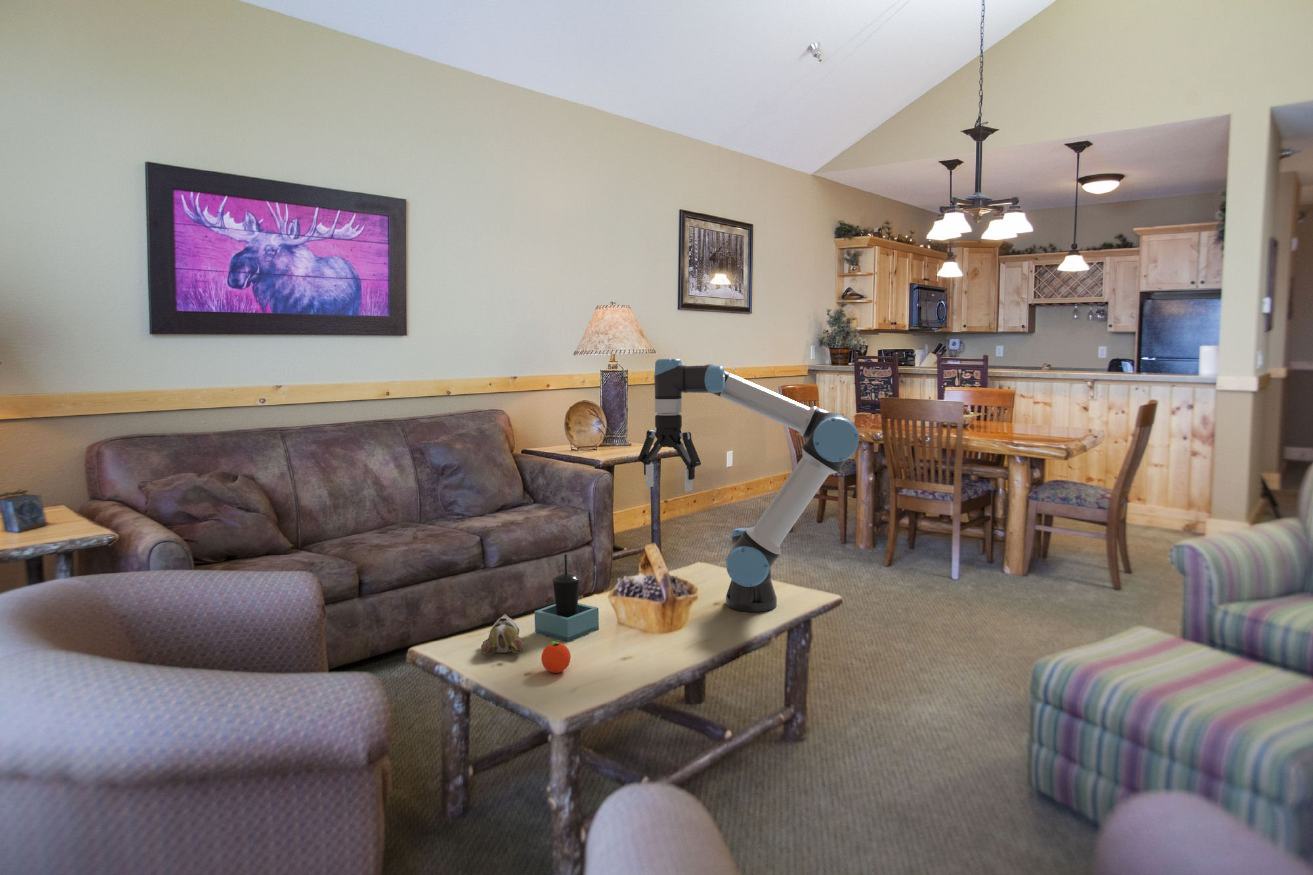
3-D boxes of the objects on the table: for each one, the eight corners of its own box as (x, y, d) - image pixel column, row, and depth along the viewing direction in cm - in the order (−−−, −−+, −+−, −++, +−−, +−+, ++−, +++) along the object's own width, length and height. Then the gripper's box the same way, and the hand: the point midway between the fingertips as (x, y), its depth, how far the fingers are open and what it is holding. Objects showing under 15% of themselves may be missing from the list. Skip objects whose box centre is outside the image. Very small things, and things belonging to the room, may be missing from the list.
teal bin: (598, 629, 221) (598, 607, 220) (568, 642, 211) (567, 619, 210) (566, 620, 228) (565, 600, 227) (535, 632, 218) (534, 611, 218)
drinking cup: (553, 632, 215) (551, 558, 213) (552, 622, 223) (551, 551, 221) (581, 630, 216) (580, 557, 214) (580, 621, 224) (579, 550, 222)
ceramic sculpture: (525, 607, 212) (522, 629, 198) (526, 638, 214) (524, 662, 199) (483, 609, 211) (478, 632, 197) (485, 640, 213) (480, 665, 198)
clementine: (537, 667, 194) (536, 638, 193) (564, 662, 197) (564, 634, 196) (546, 679, 187) (545, 649, 186) (574, 674, 190) (574, 645, 189)
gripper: (713, 414, 222) (713, 491, 224) (641, 411, 236) (642, 483, 239) (697, 416, 216) (698, 495, 218) (625, 413, 231) (626, 486, 233)
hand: (668, 489), depth 228 cm, fingers open, 13 cm apart
